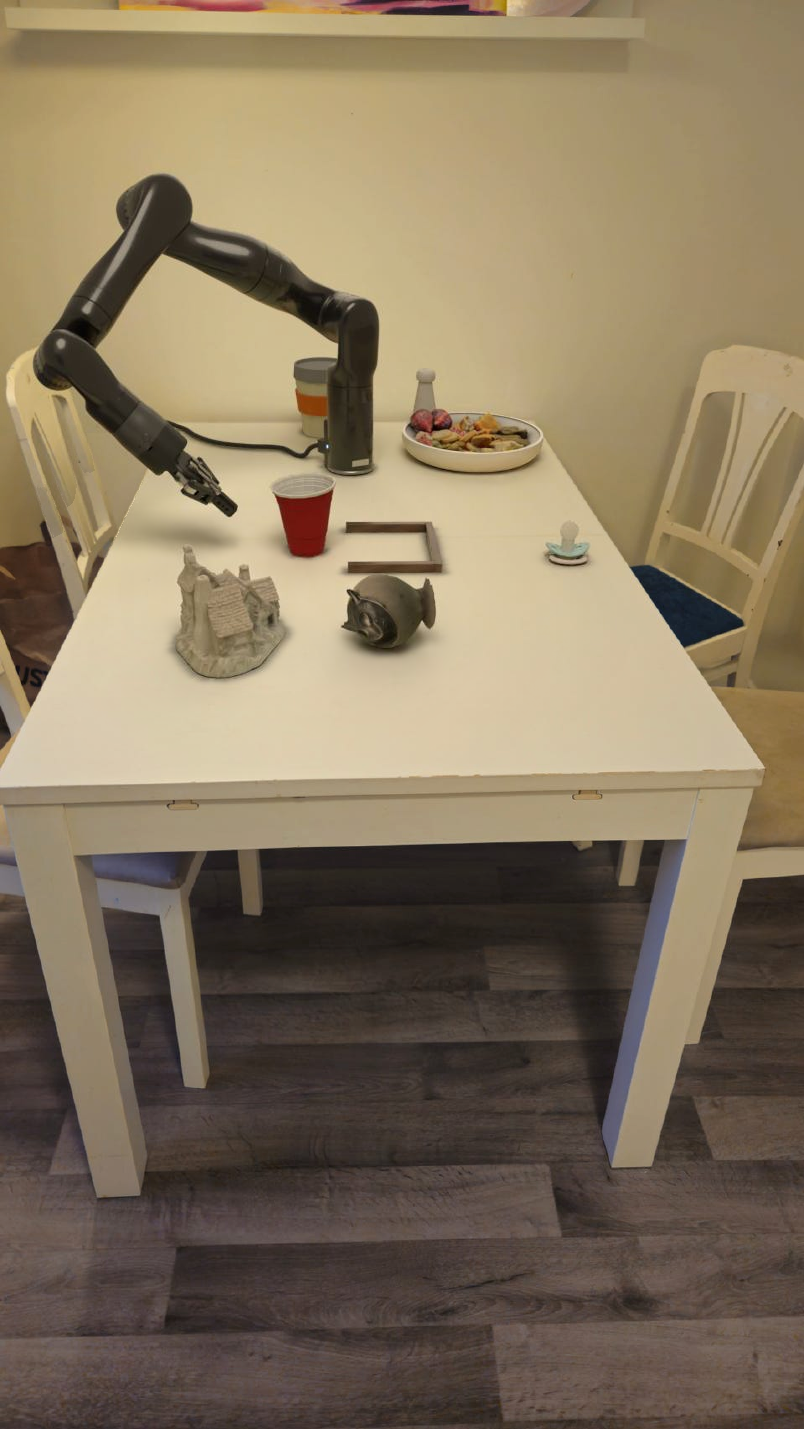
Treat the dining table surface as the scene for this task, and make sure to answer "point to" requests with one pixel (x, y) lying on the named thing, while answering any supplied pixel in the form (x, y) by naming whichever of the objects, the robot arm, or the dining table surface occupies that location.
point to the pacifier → (568, 546)
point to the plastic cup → (305, 510)
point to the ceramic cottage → (226, 619)
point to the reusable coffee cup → (312, 393)
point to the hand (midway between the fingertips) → (234, 512)
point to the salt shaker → (425, 390)
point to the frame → (397, 565)
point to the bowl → (471, 440)
